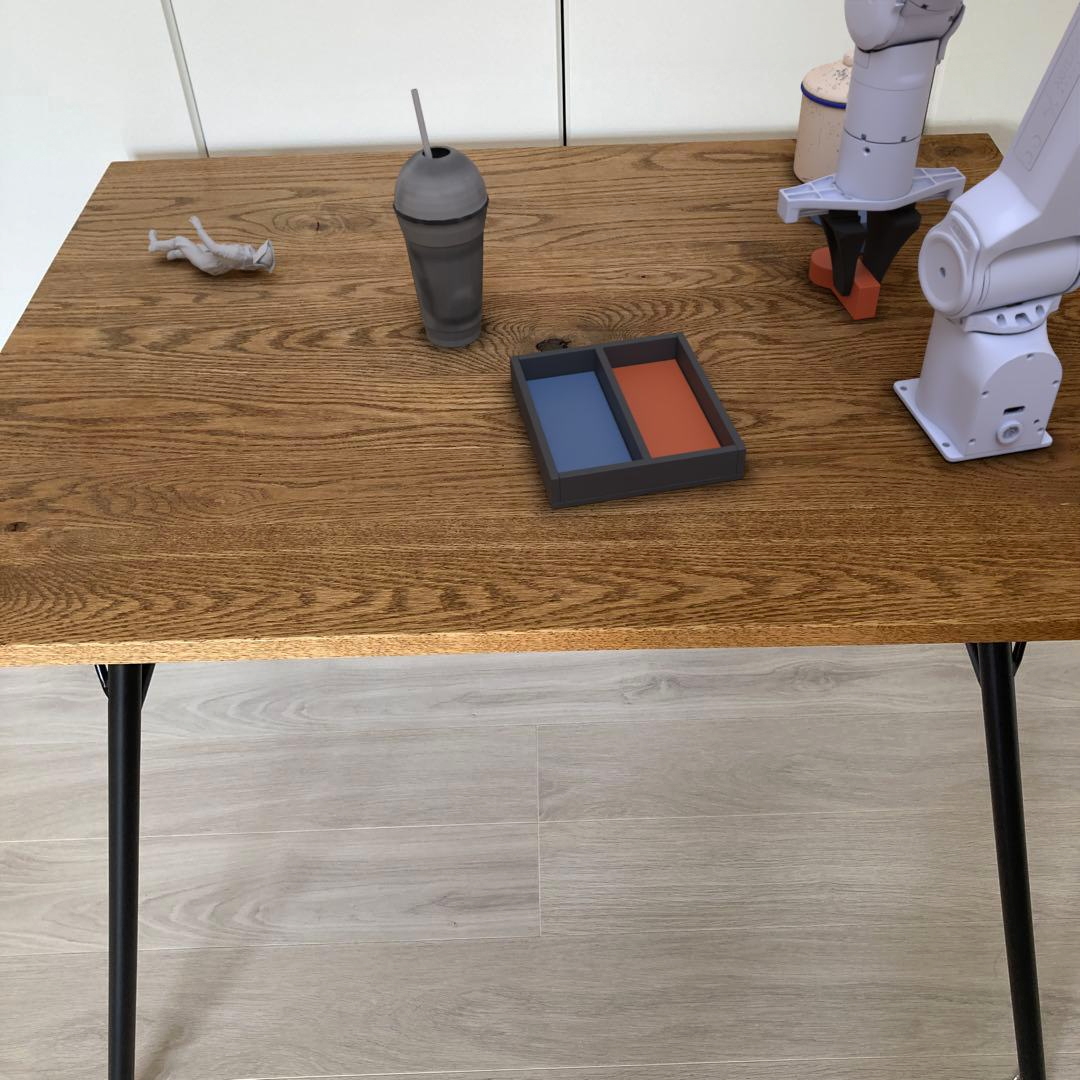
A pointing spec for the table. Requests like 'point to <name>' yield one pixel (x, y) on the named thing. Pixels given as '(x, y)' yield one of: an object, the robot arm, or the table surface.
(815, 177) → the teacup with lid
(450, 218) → the beverage cup
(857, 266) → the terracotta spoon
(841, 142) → the robot arm
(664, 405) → the divided sorting tray
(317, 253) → the table surface
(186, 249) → the soldier figure
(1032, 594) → the table surface
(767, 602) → the table surface
